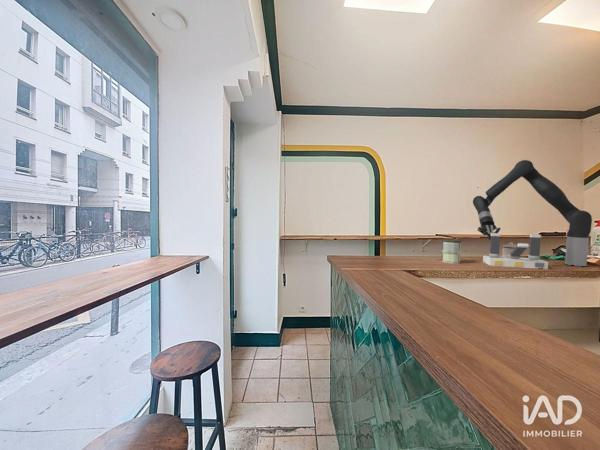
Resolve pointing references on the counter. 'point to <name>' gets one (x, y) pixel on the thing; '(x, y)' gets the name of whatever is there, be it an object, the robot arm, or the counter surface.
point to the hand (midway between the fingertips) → (491, 239)
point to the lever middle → (518, 250)
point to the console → (515, 262)
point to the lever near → (534, 247)
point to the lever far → (494, 245)
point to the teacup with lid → (508, 249)
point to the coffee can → (451, 251)
